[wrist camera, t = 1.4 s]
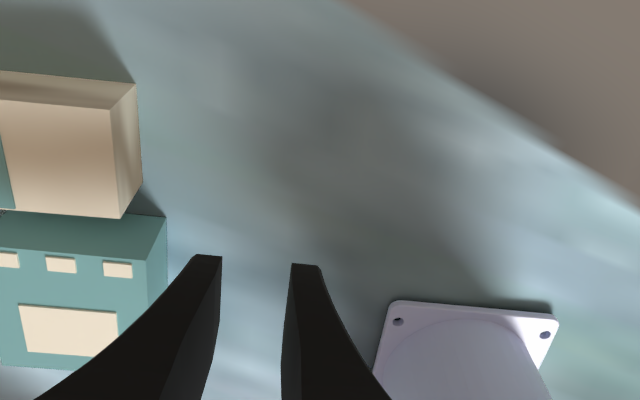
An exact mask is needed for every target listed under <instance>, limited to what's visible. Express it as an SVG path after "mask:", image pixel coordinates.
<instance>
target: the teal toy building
mask: <svg viewBox="0 0 640 400" xmlns="http://www.w3.org/2000/svg"><path fill="white" fill-rule="evenodd" d="M167 288H168V274H167V226H166V218H165V217H155V216H145V215H135V214H125V213H123V215H122V217H121V218H120V219H114V218H102V217H89V216H77V215H65V214H52V213H40V212H28V211H15V210H7V211H6V212H5V213H4V214H3V215H2V216H1V217H0V359H1V363H2V365H5V366H18V367H31V368H45V369H58V370H71V371H76V370H78V369H79V368H80V367H82V366H83V365H84V364H86V363H87V362H88V361H90V360H91V359H92V358H93V357H95V356H96V355H97V354H98V353H100V352H101V351H102V350H103V349H105V348H106V347H107V346H108V345H109V344H110V343H112V342H113V341H114V340H115V339H116V338H117V337H119V336H120V335H121V334H122V333H123V332H124V331H125V330H126V329H127V328H128V327H129V326H130V325H131V324H132V323H133V322H135V321H136V320H137V319H138V318H139V317H140V316H141V315H142V314H143V313H144V312H145V311H146V310H147V309H148V308H149V307H150V306H151V305H152V304H153V303H154V302H155V300H156V299H157V298H158V297H159V296H160V295H161V294H162V293H163V292H164V291H165V290H166V289H167Z"/></svg>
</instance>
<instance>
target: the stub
mask: <svg viewBox="0 0 640 400" xmlns="http://www.w3.org/2000/svg"><path fill="white" fill-rule="evenodd" d="M142 183H143V177H142V163H141V148H140V134H139V119H138V105H137V90H136V84H133V83H123V82H113V81H103V80H93V79H83V78H73V77H63V76H53V75H43V74H33V73H23V72H13V71H3V70H0V209H3V210H15V211H28V212H40V213H52V214H65V215H77V216H89V217H102V218H114V219H120V218H121V217H122V215H123V213H124V212H125V210H126V209H127V207H128V205H129V204H130V202H131V200H132V199H133V197H134V196H135V194H136V192H137V191H138V189H139V188H140V186H141V184H142Z"/></svg>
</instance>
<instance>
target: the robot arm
mask: <svg viewBox="0 0 640 400" xmlns="http://www.w3.org/2000/svg"><path fill="white" fill-rule="evenodd" d="M221 277H222V256H212V255H201V254H196V255H195V256H193V257H192V258H191V259H190V261H189V262H188V263H187V265H186V266H185V267H184V268H183V270H182V271H181V272H180V273H179V275H178V276H177V277H176V278H175V279H174V281H173V282H172V283H171V284H170V285H169V286H168V288H167V289H166V290H165V291H164V292H163V293H162V294H161V295H160V296H159V297H158V298H157V299H156V300H155V302H154V303H153V304H152V305H151V306H150V307H149V308H148V309H147V310H146V311H145V312H144V313H143V314H142V315H141V316H140V317H139V318H138V319H137V320H136V321H135V322H133V323H132V324H131V325H130V326H129V327H128V328H127V329H126V330H125V331H124V332H123V333H122V334H121V335H120V336H119V337H117V338H116V339H115V340H114V341H113V342H112V343H110V344H109V345H108V346H107V347H106V348H105V349H103V350H102V351H101V352H100V353H98V354H97V355H96V356H95V357H93V358H92V359H91V360H90V361H88V362H87V363H86V364H84V365H83V366H82V367H80V368H79V369H78V370H76V371H75V372H73V373H72V374H71V375H69V376H68V377H66V378H65V379H64V380H62V381H61V382H60V383H58V384H57V385H55V386H54V387H52V388H51V389H49V390H48V391H46V392H45V393H43V394H42V395H40V396H39V397H37V398H35V399H34V400H201V397H202V393H203V390H204V387H205V383H206V380H207V377H208V373H209V370H210V367H211V363H212V360H213V355H214V349H215V344H216V339H217V333H218V327H219V322H220V300H221ZM396 318H401V319H400V320H394V319H396ZM558 328H559V322H558V320H557V318H556V317H555V316H554V315H552V314H547V313H536V312H525V311H514V310H503V309H492V308H481V307H470V306H459V305H448V304H437V303H426V302H415V301H404V300H398V301H395V302H393V303H391V304H390V306H389V308H388V312H387V316H386V320H385V324H384V328H383V331H382V335H381V339H380V343H379V347H378V351H377V355H376V359H375V363H374V367H373V371H372V372H371V370H370V369H369V367H368V366H367V364H366V363H365V361H364V360H363V358H362V357H361V355H360V353H359V352H358V350H357V348H356V347H355V345H354V343H353V342H352V340H351V338H350V336H349V334H348V333H347V331H346V329H345V327H344V325H343V323H342V321H341V319H340V317H339V315H338V313H337V311H336V309H335V307H334V304H333V302H332V300H331V297H330V295H329V293H328V290H327V288H326V285H325V282H324V279H323V276H322V273H321V270H320V268H319V267H318V266H317V265H306V264H296V263H292V265H291V273H290V281H289V289H288V297H287V305H286V313H285V321H284V330H283V342H282V355H281V397H282V400H553V399H552V397H551V395H550V393H549V391H548V389H547V387H546V385H545V383H544V381H543V379H542V377H541V375H540V373H539V371H538V370H539V368H540V365H541V363H542V361H543V359H544V357H545V355H546V353H547V351H548V349H549V347H550V344H551V342H552V340H553V338H554V336H555V334H556V332H557V330H558ZM543 331H545V332H544V333H541V332H543Z"/></svg>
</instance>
